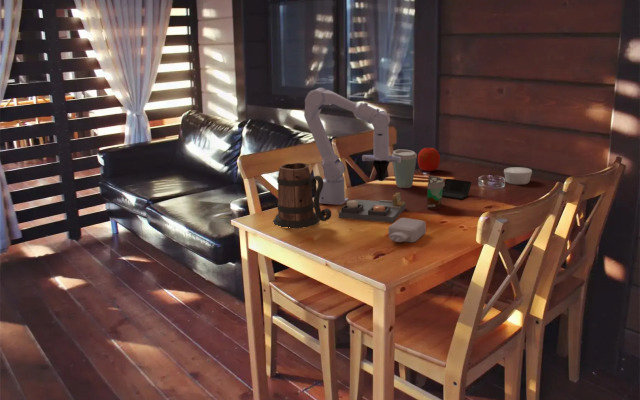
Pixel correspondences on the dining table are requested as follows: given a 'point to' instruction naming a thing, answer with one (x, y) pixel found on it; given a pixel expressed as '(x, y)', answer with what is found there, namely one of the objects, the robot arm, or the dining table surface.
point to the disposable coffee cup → (404, 167)
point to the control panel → (372, 211)
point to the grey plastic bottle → (407, 230)
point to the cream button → (352, 204)
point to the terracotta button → (379, 208)
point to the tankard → (298, 197)
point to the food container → (434, 192)
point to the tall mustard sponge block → (397, 200)
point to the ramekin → (517, 175)
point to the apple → (428, 159)
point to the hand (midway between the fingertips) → (381, 180)
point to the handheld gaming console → (456, 189)
